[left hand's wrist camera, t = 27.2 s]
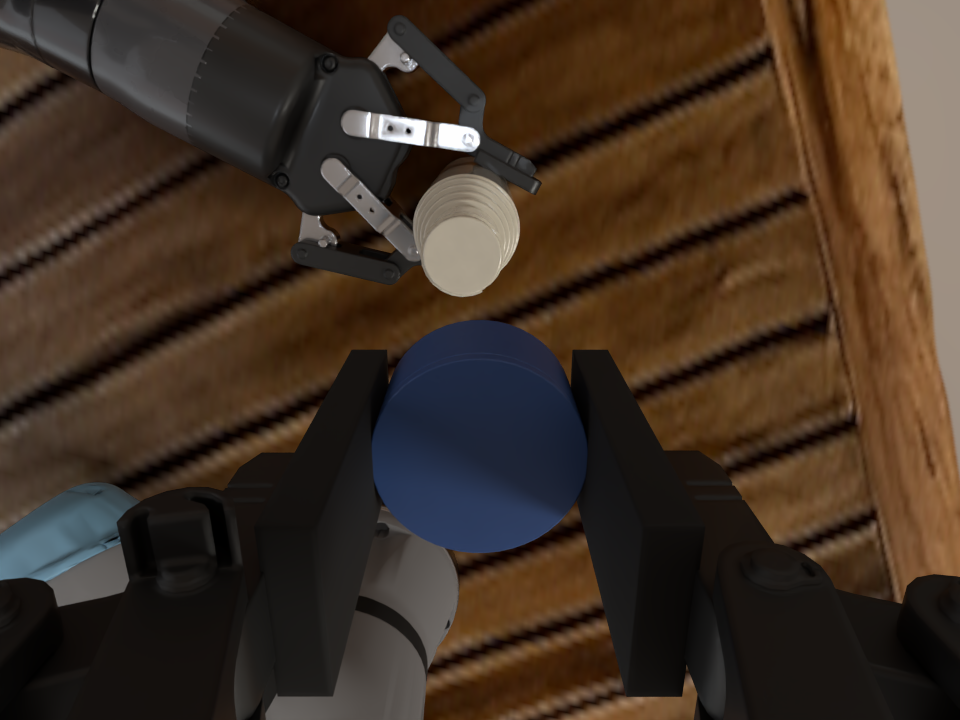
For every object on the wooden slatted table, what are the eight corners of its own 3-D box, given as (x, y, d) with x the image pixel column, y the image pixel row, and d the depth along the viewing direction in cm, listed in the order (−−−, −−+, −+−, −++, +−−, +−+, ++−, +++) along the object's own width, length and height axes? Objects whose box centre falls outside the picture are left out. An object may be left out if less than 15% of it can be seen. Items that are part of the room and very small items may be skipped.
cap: (504, 517, 15) (508, 586, 13) (353, 432, 15) (329, 489, 12) (609, 383, 14) (633, 433, 12) (450, 282, 13) (444, 315, 11)
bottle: (421, 173, 41) (374, 217, 23) (493, 144, 41) (502, 167, 23) (450, 244, 43) (426, 337, 25) (519, 218, 42) (546, 294, 24)
